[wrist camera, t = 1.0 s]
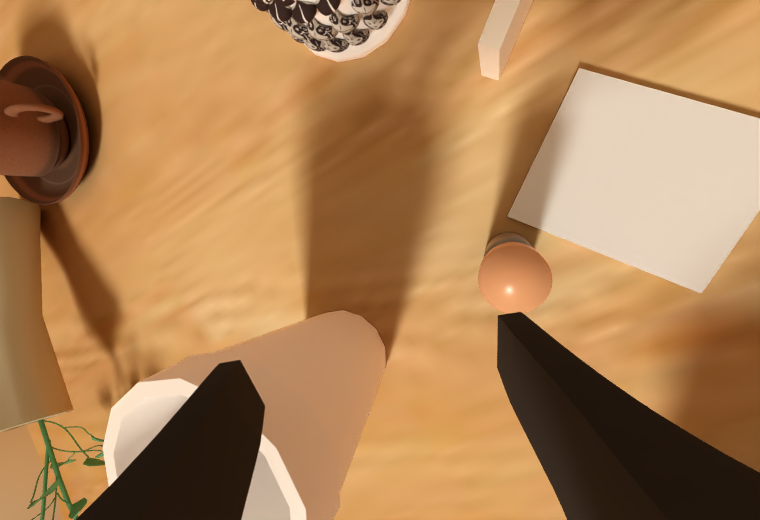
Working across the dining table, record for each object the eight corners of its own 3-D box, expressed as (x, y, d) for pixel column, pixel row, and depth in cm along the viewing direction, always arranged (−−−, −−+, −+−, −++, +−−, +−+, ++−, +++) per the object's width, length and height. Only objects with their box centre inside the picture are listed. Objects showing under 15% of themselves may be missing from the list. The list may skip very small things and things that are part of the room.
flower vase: (140, 214, 39) (201, 548, 33) (45, 247, 40) (87, 580, 34) (22, 172, 27) (82, 677, 21) (-109, 220, 28) (-89, 722, 22)
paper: (807, 134, 15) (813, 133, 15) (698, 292, 17) (701, 293, 17) (577, 69, 17) (579, 68, 17) (507, 216, 20) (507, 216, 19)
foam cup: (352, 262, 23) (192, 329, 11) (436, 373, 22) (365, 575, 10) (266, 334, 26) (71, 446, 14) (337, 433, 26) (196, 639, 14)
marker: (542, 242, 19) (566, 264, 13) (519, 284, 20) (531, 325, 13) (496, 224, 20) (496, 235, 13) (476, 265, 21) (467, 295, 14)
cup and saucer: (61, 33, 29) (-49, -9, 23) (126, 159, 28) (32, 148, 23) (0, 117, 33) (-105, 99, 27) (57, 227, 33) (-37, 232, 27)
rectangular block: (523, -27, 17) (531, -90, 14) (542, -23, 17) (555, -85, 13) (481, 75, 19) (477, 43, 15) (498, 80, 19) (499, 50, 15)
